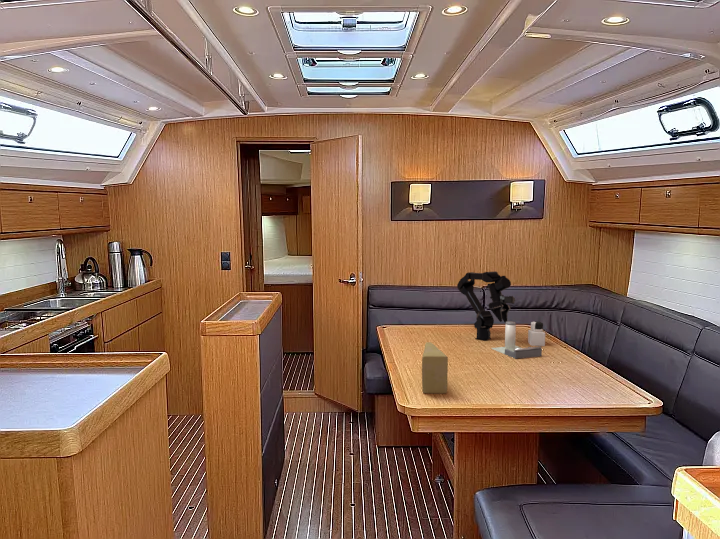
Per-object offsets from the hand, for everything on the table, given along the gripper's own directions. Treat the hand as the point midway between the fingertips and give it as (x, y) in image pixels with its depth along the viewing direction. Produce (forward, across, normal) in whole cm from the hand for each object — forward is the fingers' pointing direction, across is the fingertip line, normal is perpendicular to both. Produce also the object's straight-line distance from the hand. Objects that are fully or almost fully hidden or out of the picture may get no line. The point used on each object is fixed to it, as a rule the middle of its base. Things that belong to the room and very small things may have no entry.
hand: (503, 322), depth 254 cm
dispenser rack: (+19, -8, -6) cm, 21 cm away
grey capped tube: (+14, -2, 0) cm, 14 cm away
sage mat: (+15, -2, 0) cm, 15 cm away
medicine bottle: (+13, +17, -9) cm, 23 cm away
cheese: (+28, -69, +17) cm, 76 cm away
